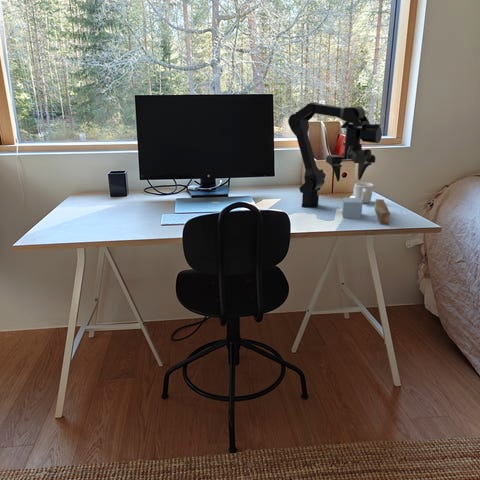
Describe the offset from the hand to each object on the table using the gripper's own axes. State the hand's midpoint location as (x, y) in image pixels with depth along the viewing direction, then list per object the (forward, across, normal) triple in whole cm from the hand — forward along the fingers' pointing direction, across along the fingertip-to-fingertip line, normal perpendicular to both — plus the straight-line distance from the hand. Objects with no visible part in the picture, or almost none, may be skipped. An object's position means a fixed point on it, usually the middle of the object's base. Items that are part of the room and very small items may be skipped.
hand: (348, 180), depth 170 cm
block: (+13, 0, -5) cm, 14 cm away
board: (+13, +10, -10) cm, 19 cm away
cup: (+14, +14, +11) cm, 23 cm away
